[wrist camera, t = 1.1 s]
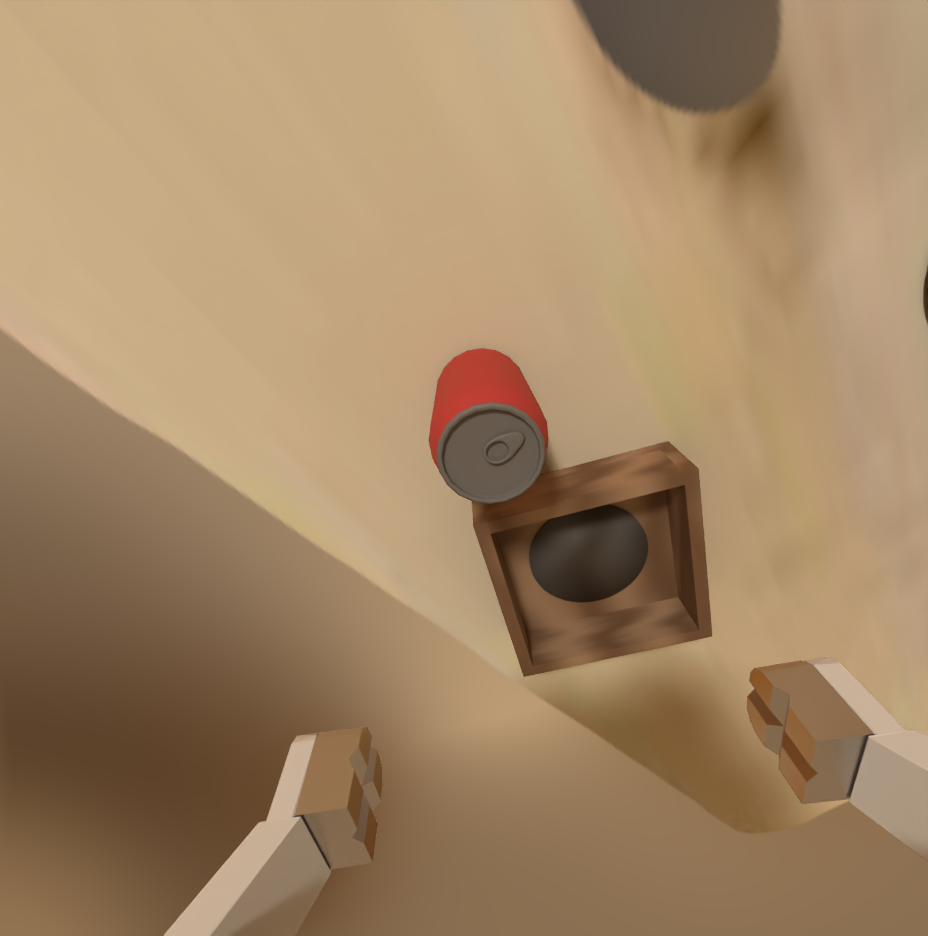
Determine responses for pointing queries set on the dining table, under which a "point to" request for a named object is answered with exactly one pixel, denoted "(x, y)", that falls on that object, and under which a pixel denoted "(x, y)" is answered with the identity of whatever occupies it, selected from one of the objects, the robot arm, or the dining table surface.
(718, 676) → the dining table surface
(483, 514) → the walnut box
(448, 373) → the beer can
